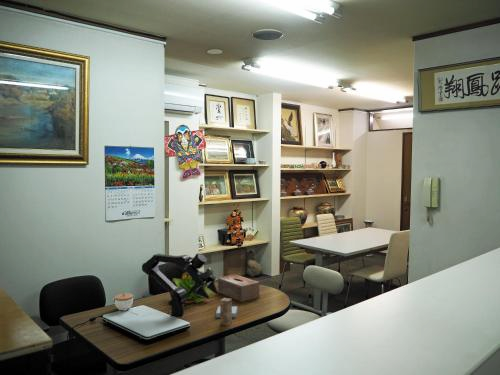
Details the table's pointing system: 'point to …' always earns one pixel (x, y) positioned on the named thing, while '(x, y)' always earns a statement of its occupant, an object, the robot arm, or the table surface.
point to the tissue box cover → (238, 287)
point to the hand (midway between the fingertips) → (213, 295)
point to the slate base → (234, 311)
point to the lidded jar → (123, 301)
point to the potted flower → (186, 285)
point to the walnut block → (225, 311)
